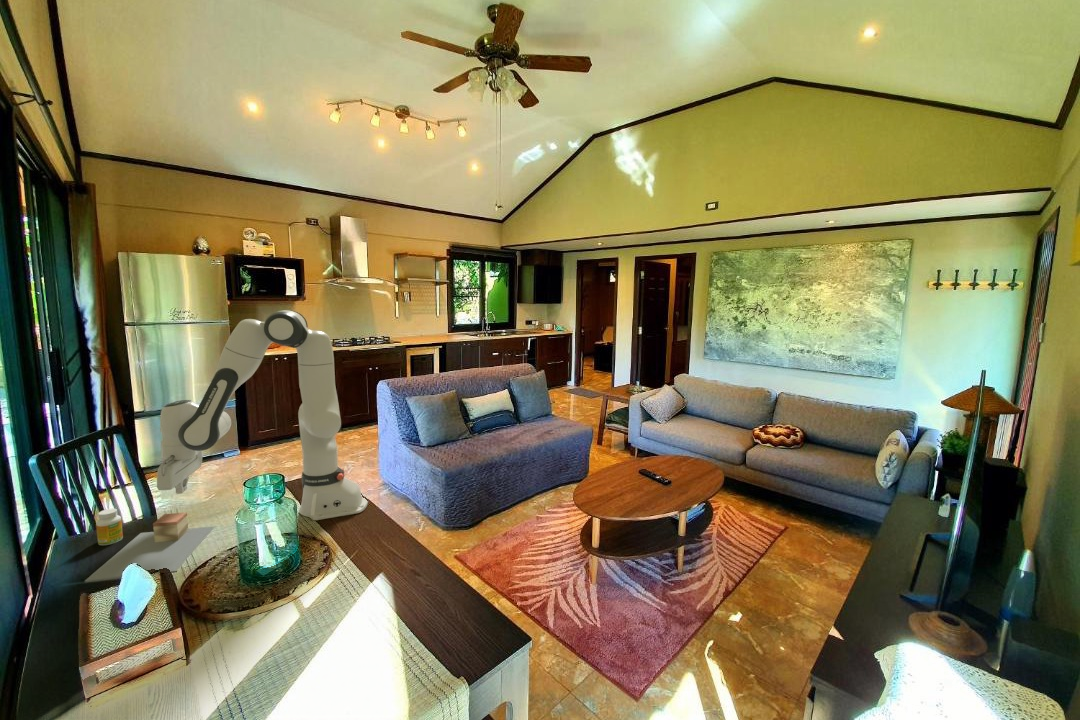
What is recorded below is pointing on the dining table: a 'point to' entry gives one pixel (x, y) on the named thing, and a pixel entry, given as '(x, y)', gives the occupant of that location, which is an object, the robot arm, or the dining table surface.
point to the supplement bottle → (109, 527)
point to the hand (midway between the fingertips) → (181, 492)
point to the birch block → (170, 527)
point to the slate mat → (151, 554)
